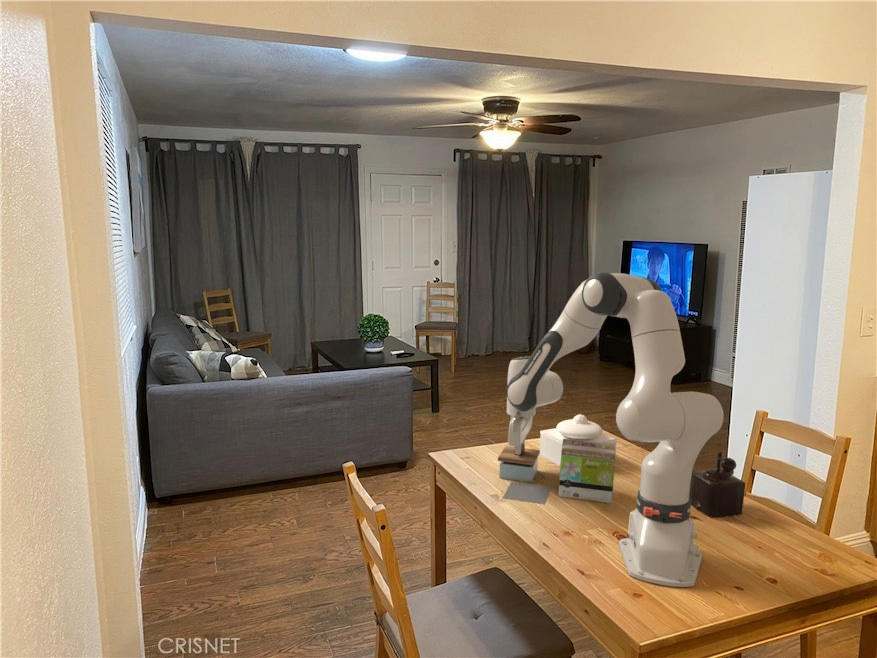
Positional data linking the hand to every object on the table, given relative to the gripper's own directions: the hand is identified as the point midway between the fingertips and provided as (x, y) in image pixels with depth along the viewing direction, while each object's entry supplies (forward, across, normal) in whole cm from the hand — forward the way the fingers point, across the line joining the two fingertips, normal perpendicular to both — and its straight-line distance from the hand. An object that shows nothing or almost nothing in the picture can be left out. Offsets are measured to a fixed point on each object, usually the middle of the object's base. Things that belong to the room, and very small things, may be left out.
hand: (519, 451), depth 195 cm
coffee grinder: (+8, -7, -57) cm, 58 cm away
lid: (+2, 0, 0) cm, 2 cm away
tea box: (+8, -7, -21) cm, 24 cm away
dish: (+8, 0, 0) cm, 8 cm away
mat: (+8, -13, -5) cm, 16 cm away
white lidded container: (+8, +20, -16) cm, 27 cm away
